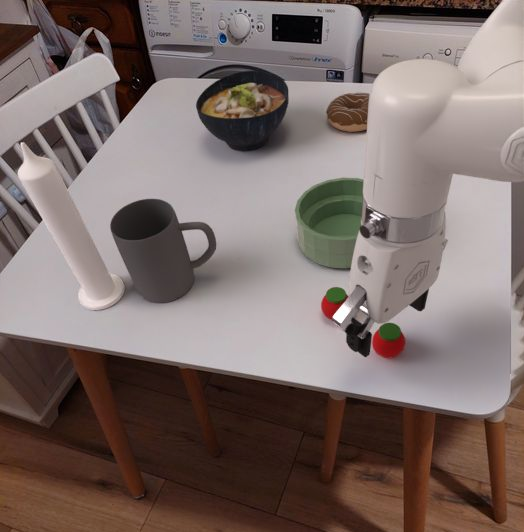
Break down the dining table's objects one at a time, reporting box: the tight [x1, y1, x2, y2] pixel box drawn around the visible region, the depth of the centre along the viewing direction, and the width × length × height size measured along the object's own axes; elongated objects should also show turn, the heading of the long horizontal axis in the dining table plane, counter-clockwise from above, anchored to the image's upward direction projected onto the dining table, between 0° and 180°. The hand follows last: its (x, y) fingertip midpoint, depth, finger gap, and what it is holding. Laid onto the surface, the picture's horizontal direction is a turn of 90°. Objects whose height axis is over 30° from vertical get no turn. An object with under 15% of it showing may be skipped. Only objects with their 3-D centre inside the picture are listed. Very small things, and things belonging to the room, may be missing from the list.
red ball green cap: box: [371, 322, 406, 359], centre depth 64 cm, size 4×4×4 cm
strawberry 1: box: [320, 286, 349, 321], centre depth 68 cm, size 4×4×4 cm
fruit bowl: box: [294, 177, 364, 269], centre depth 77 cm, size 14×14×6 cm
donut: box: [325, 92, 370, 133], centre depth 98 cm, size 11×11×4 cm
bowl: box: [195, 70, 290, 152], centre depth 96 cm, size 17×17×10 cm
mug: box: [109, 198, 217, 304], centre depth 73 cm, size 14×9×12 cm
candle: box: [17, 142, 126, 311], centre depth 68 cm, size 7×7×25 cm
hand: (385, 326), depth 61 cm, fingers open, 9 cm apart
